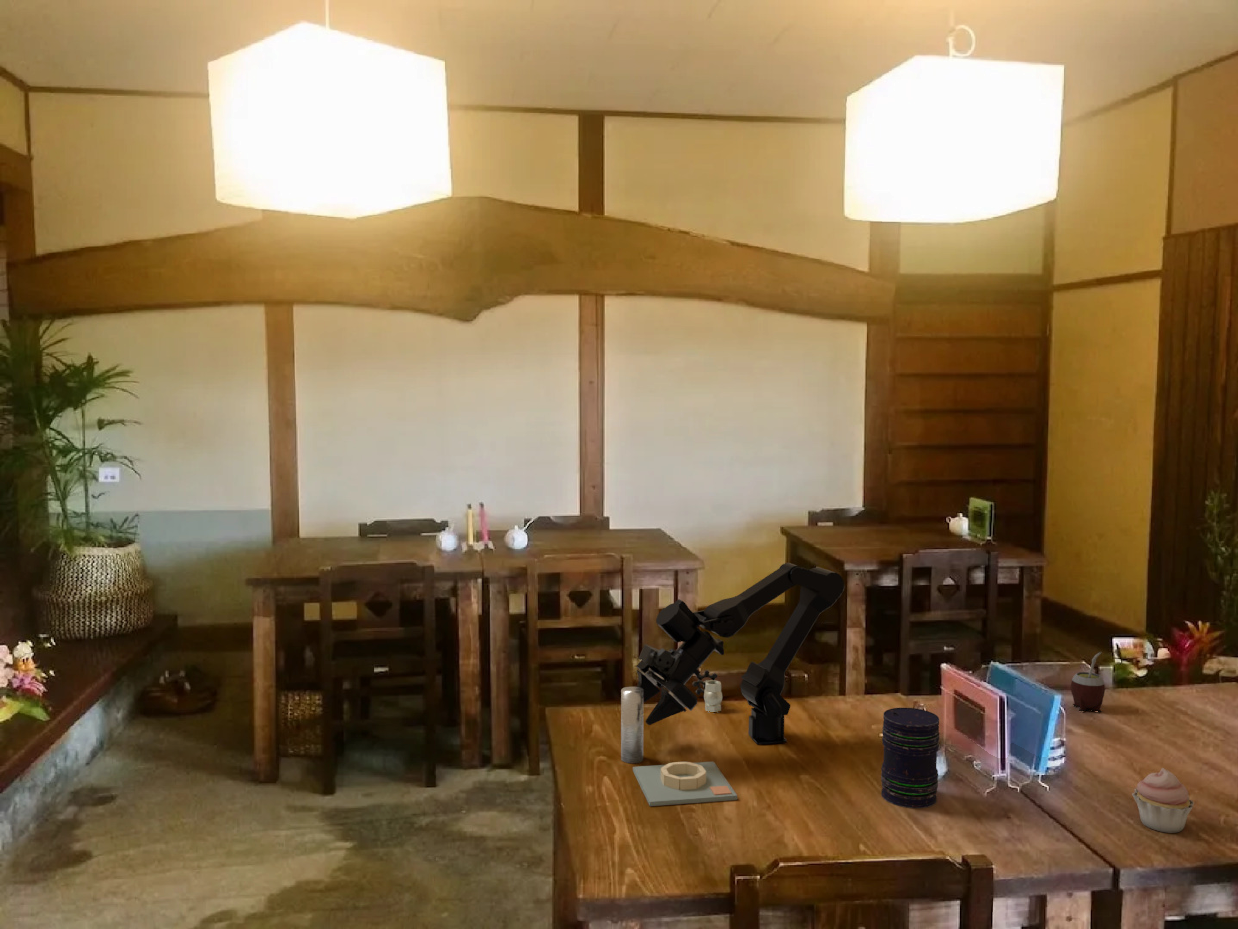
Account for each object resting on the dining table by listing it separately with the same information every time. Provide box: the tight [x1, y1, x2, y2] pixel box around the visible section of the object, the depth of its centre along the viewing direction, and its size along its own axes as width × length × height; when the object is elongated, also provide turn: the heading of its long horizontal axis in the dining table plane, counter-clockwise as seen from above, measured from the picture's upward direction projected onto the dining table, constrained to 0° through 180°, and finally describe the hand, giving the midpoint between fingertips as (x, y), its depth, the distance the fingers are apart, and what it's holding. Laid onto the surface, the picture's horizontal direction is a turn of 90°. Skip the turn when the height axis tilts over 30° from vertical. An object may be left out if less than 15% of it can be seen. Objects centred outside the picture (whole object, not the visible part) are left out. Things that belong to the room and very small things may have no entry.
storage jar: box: [880, 707, 940, 809], centre depth 180 cm, size 10×10×15 cm
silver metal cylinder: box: [620, 686, 644, 764], centre depth 197 cm, size 4×4×14 cm
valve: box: [692, 669, 723, 713], centre depth 230 cm, size 7×7×12 cm
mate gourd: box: [1070, 651, 1106, 713], centre depth 227 cm, size 8×8×15 cm
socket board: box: [632, 761, 738, 807], centre depth 185 cm, size 16×16×3 cm
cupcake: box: [1131, 767, 1195, 834], centre depth 169 cm, size 9×9×10 cm
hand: (638, 716), depth 198 cm, fingers open, 9 cm apart
